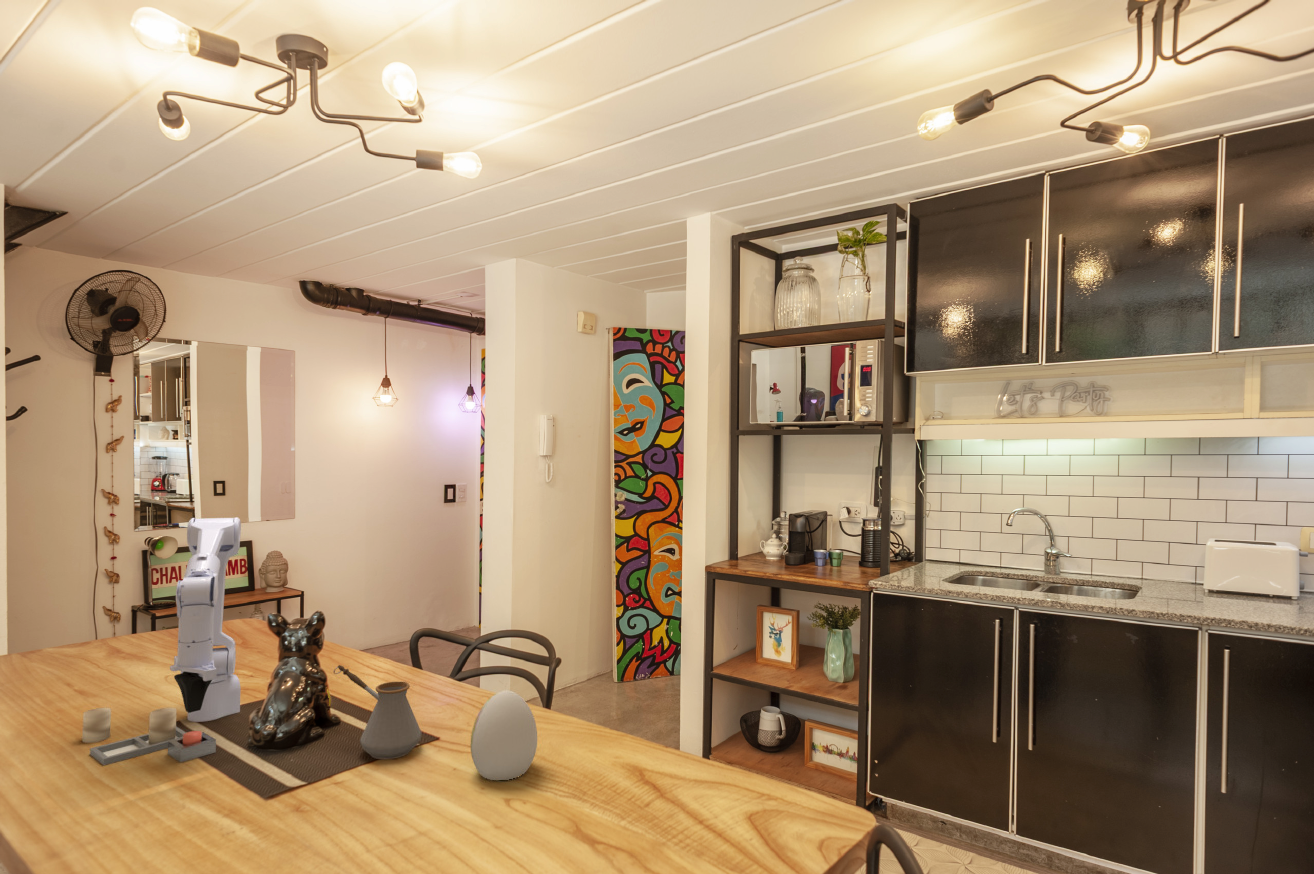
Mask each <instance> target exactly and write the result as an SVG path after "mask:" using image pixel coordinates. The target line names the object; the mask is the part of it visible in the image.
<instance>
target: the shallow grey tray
mask: <svg viewBox="0 0 1314 874" xmlns="http://www.w3.org/2000/svg"><path fill="white" fill-rule="evenodd" d="M185 733H187V732H186V731H184V730H183V729H181V728H180V727H178V726H176V735H175V739H178V738H182V737H183V735H184V734H185ZM175 739H172V740H175ZM168 741H171V740H168ZM168 741H164V742H161V743H157V744H153V745H149V744H148V743H149V733H145V734H141V735H138V736H133V737H129V738H126V739H122V740H118V741H115V742H110V743H106V744H102V745H98V746H95V747H90V748H89V756H91V757H93V759H95V760H96V761H97V762H98V763H100V764H101V765H103V766H107V765H111V764H114V763H117V762H122V761H126V760H128V759H132V758H136V757H140V756H143V755H147V754H151V753H155V752H158V751H162V750H166V749H168Z"/></svg>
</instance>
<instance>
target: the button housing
mask: <svg viewBox="0 0 1314 874" xmlns="http://www.w3.org/2000/svg"><path fill="white" fill-rule="evenodd" d="M201 732H202V738H201V742H199V743H195V744H191V745H188V746H183V737H182V738H178V739H175V740H171V741H168V748H167V755H168V756H170V757H171V758H173V759H174V760H175V761H177V762H179V763H184V762H189V761H190V760H194V759H197V758H201V757H205V756H207V755H212V754H214V753H215V754H216V753H217V752H216V749H217V739H216V738H214V737H212V736H211V735H209V734H207V733H205V732H204V731H201Z"/></svg>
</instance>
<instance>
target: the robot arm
mask: <svg viewBox="0 0 1314 874" xmlns="http://www.w3.org/2000/svg"><path fill="white" fill-rule="evenodd" d="M186 529H187V530H186V543H187V545H188V549H189V552H190V554H191V557H190V558H189V559H188V562H187V564H186V568H185V570H184V571H185V572H184V574H183V579H182V580H177V584H176V587H175V588H176V590H175V603H176V616H177V618H178V631H177V632H178V633H177V635H178V636H177V656H176V655H175V656H174V657H173V658H174V659H173V664H172V665H170V666H169V670H170V671H171V672H179V671H180V673H178V674H175V675H174V677H173V678H174V680H175V681H176V684H177V685H178V687H179V690H180V692H181V696H182V701H183V705H184V706H183V707H184V709H185V712H186V713H187V720H188V721H190V722H195V723H199V722H208V721H209V722H210V721H214V720H218V719H220V718H223V717H226V716H227V717H228V716H229V715H233V714H237V713H240V712H241V683H240V679H239V677H238V675H237V674H234V673H235V669H236V658H237V657H236V653H237V652H236V641H235V640H234V638H233V637H231V636H230V635H228V634H227V633H225V632H223V621H224V619H223V618H224V608H225V607H224V603H225V592H226V591H225V590H226V589H225V587H226V575H227V574H226V573H227V565H228V562H229V560H230V558H232V557H234V556H237V555H238V554H239V550H240V547H241V546H240V545H241V544H240V543H241V533H242V532H241V530H242V522H241V519H240V518H239V517H238V516H237V517H211V518H209V517H207V518H202V517H201V518H196V517H191V518H190V520H189V521H188V523H187V528H186ZM218 646H219V647H218ZM220 646H224V647H220ZM213 647H216V648H213Z"/></svg>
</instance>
